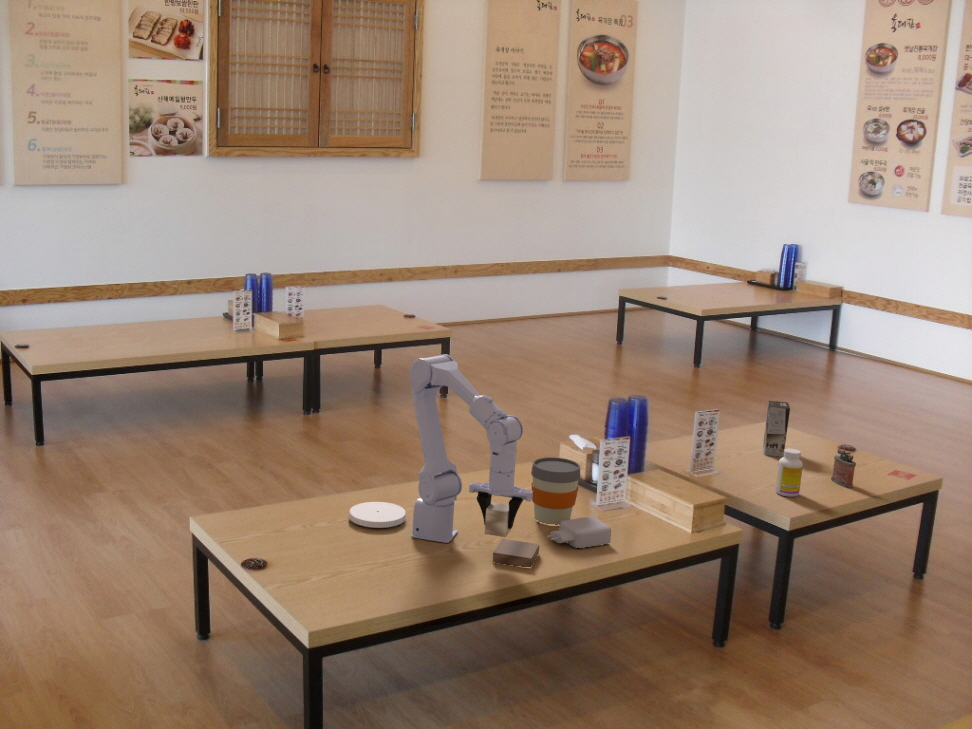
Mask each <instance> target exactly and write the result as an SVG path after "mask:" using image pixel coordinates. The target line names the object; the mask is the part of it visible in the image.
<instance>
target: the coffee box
mask: <svg viewBox="0 0 972 729" xmlns="http://www.w3.org/2000/svg"><path fill="white" fill-rule="evenodd" d="M767 403H768V404H767V411H766V419H765V427H764V434H763V435H764V436H763V442H762V449H763V450H762V451H763V454H764V456H772V457H780V458H782V457H784V449H786V440H787V434H788V426H789V419H790V412H791V407H790V404H789V402H787V401H778V400H768V402H767Z"/></svg>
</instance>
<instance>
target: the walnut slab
mask: <svg viewBox="0 0 972 729" xmlns="http://www.w3.org/2000/svg"><path fill="white" fill-rule="evenodd" d="M538 554H540V543H533V542H527V541H520V540H515V539H507V538H501V539H500V542H498V545H497V546H496V548H495V549H494V550H493V552H492V563H493V562H495V563H494V564H496V563H500V564H499V565H502V564H506V565H505V566H509V565H513V566H512V567H515V566H521V567H531V566H532V565H534V564H535V562H536V560H537V559H536V557H537V555H538ZM538 556H539V555H538ZM537 558H538V557H537ZM535 559H536V560H535ZM534 561H535V562H534ZM533 563H534V564H533ZM521 567H520V568H521ZM532 567H533V566H532Z"/></svg>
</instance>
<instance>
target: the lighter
mask: <svg viewBox="0 0 972 729" xmlns="http://www.w3.org/2000/svg"><path fill="white" fill-rule="evenodd" d="M837 454H839V455H834V458H833V459H834V461H833V469H832V475H831V477H830V478H831V479H830V481H831V480H832V481H831V482H833V483H835V484H837V485H838V486H841V487H843V488H846V489H852V487H854V484H853V483H854V482H853V481H854V476H855V469H856V466H857V463H856V462H855V461H854V460H853V459H854V454H852V453H851V452H850V451H846V450H843V449H841V448H838V449H837Z"/></svg>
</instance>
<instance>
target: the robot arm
mask: <svg viewBox="0 0 972 729" xmlns="http://www.w3.org/2000/svg"><path fill="white" fill-rule="evenodd" d="M408 373H409V379H410V384H411V390H410V391H411V398H412V402H413V407H414V412H415V417H416V423H417V429H418V434H419V439H420V443H421V450H422V454H423V459H424V465H423V466H422V468H421V469H420V470H419V471H418V474H417V476H418V486H417V487H418V490H417V491H418V495H419V496H420V497H418V498H417V499H416V500H415V503H414V508H413V515H412V517H413V518H412V531H411V532H412V533H411V536H410V537H411V538H413V539H414V538H415V539H418V540H420V539H421V540H426V541H432V542H438V543H439V542H440V543H446V544H448V543H450V542H451V541H452V540H453V538H454V537H455V536H456V535H457V533H458V529H454V514H455V512H454V511H455V501H457V499H458V498H457V497H458V495H460V494H461V492H462V490H463V481H462V478H461V477H460V475H459V473H458V469H457V466H456V464H454V463H453V462H452V461H450V460H449V459H448V456H447V450H446V445H445V440H444V434H443V430H442V424H441V419H440V414H439V409H438V403H437V399H436V396H437V394H438V393H439V391H440V390H441V388H443V387H447V388H449V389H450V390H451V391H452V392H453V393H454V394H455V395H457V396H458V397H459V398H460V399H461V400H463V401H464V402H465V403H466V404H467V406H469V407H468V408H469V409H468V412H469V414H470V415H471V416H472V417H473V418H474V419H475V420H476V421H477V422H478V423H479V424H480V425H481V426H482V427H483V428H484V429H485V430H486V431H485V432H486V438H487V440H488V441H489V449H490V461H489V476H488V482H475V481H471V483H470V484H469V486H468V492H469V493H470V494H471V493H477V496H476V501H477V503H478V505H479V508H480V511H481V513H482V517H483V522H484V524H483V525H484V526H485V519H486V509H487V508H488V506H489V505H490V504H491V503H492V497H496V496H497V497H503V498H511V499H509V501H508V505H509V520H508V529H511V530H512V528H513V527H514V522H515V519H516V517H517V513H518V511H519V508H520V507H521V505H522V503H523V502H524V500H525V501H526V502H532V496H533V491H532V490H529V489H525V488H521V487H517V486H515V485H514V484H515V473H516V472H515V471H516V460H517V458H516V457H517V443H518V442H517V441H519V440H520V439H521V437H523V432H524V428H523V424H522V423H521V422H522V421H521V420H519V418H518V417H517V416H516V415H511V414H509V413H506V412H505V411H504V410H502V409H501V407H500V406H499V405H498V404H496V403H495V401H494V398H493V397H492V396H490V395H489V396H488V395H486V394H483V395H480V393H479V392H478V391H477V390H476V389H475V387H474V386H473V385H472V384H471V383H470V382H469V381H468V378H466V377H465V376H464V375H463V373H462V372H461V371H460V369H459V364H458V362H457V361H455V360H454V358H453V357H452V356H451V355H449V354H445V353H444V354H440V355H435V356H429V357H424V358H421V357H420V358H416V359H414V361H413V362H412V363H411V366H410V367H409V369H408Z"/></svg>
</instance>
